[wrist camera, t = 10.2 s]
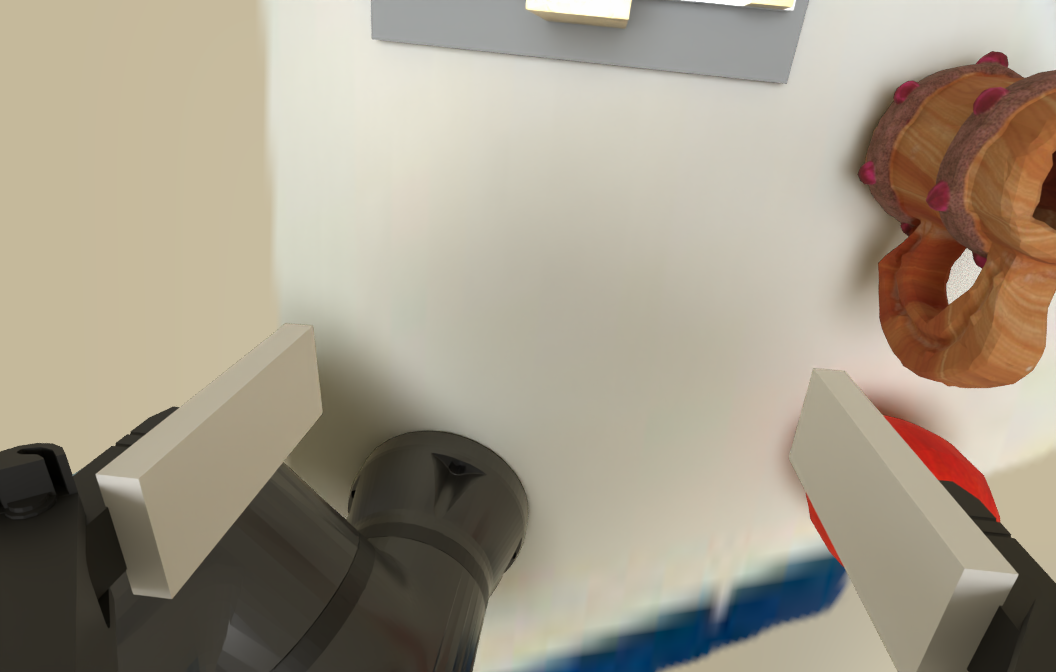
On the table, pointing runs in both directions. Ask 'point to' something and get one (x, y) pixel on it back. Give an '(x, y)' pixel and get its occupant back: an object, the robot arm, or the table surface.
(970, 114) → the mug
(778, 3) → the beam
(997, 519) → the apple
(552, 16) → the block
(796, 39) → the flange plate
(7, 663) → the robot arm
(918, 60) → the table surface
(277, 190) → the table surface
